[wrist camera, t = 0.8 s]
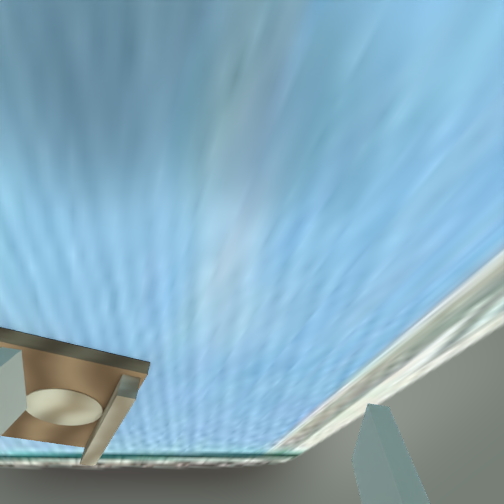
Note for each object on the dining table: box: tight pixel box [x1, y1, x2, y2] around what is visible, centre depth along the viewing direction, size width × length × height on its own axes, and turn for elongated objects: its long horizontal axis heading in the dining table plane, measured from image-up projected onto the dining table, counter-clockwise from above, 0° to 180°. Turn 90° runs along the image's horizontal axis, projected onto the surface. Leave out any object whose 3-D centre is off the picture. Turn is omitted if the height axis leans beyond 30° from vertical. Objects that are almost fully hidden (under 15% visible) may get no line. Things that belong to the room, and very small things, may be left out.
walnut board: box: [0, 328, 150, 466], centre depth 40 cm, size 22×22×4 cm
